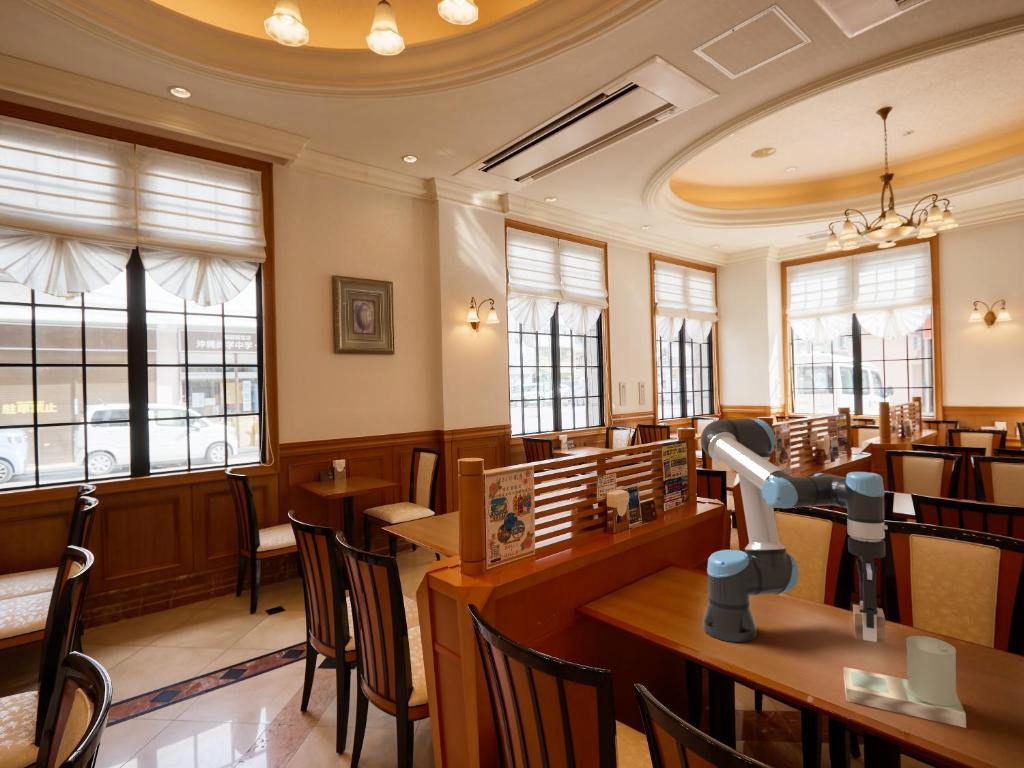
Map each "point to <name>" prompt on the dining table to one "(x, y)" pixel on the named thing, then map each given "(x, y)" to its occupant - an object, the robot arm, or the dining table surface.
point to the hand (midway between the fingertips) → (868, 634)
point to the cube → (859, 624)
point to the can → (931, 670)
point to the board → (896, 697)
